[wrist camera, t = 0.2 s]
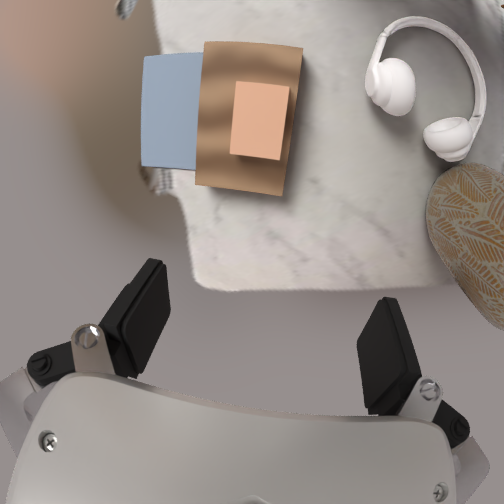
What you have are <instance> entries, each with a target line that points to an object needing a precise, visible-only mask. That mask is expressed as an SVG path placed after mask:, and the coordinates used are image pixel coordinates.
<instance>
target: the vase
mask: <svg viewBox="0 0 504 504" xmlns="http://www.w3.org/2000/svg"><path fill="white" fill-rule="evenodd" d="M426 224H427V230H428V234H429V237H430V240H431V242H432V245H433V247H434V248H435V250H436V252H437V253H438V255H439V256H440V258H441V260H442V261H443V263H444V264H445V266H446V267H447V269H448V270H449V272H450V273H451V275H452V276H453V278H454V279H455V281H456V282H457V283H458V285H459V286H460V287H461V289H462V290H463V292H464V293H465V294H466V296H467V297H468V298H469V300H470V301H471V302H472V303H473V305H474V306H475V307H476V308H477V309H478V310H479V312H480V313H481V314H482V315H483V316H484V317H485V319H486V320H488V322H490V323H491V324H492V325H493V326H495V327H497V328H498V329H500V330H503V331H504V175H503V174H501V173H499V172H497V171H495V170H494V169H492V168H489V167H487V166H485V165H482V164H478V163H463V164H459V165H456V166H453V167H451V168H449V169H447V170H446V171H444V172H443V173H442V174H441V175H440V176H439V177H438V178H437V179H436V181H435V182H434V184H433V185H432V187H431V190H430V192H429V195H428V198H427V204H426Z"/></svg>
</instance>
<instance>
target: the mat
mask: <svg viewBox="0 0 504 504" xmlns="http://www.w3.org/2000/svg"><path fill="white" fill-rule="evenodd" d="M202 62H203V53H178V54H165V55H156V56H146V57H144V68H143V82H142V104H141V154H142V155H141V158H142V166H150V167H166V168H180V169H191V170H196V145H197V125H198V109H199V95H200V83H201V72H202Z"/></svg>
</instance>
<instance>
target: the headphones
mask: <svg viewBox="0 0 504 504" xmlns="http://www.w3.org/2000/svg"><path fill="white" fill-rule="evenodd" d="M410 26H419V27H425V28H429V29H432V30H435V31H437V32H439V33H441V34H443V35H444V36H446V37H447V38H448V39H450V40H451V41H452V42H453V43H454V44H455V45H456V46H457V48H458V49H459V50H460V51H461V53H462V55H463V56H464V58H465V60H466V62H467V64H468V66H469V68H470V71H471V74H472V77H473V81H474V86H475V106H474V111H473V114H472V116H471V118H470V120H469V122H468V121H467V120H466V119H465V118H461V117H451V118H445V119H442V120H439V121H436V122H434V123H432V124H430V125H429V126H427V127H426V128H425V129H424V132H423V137H424V141H425V143H426V145H427V146H428V147H429V148H430V149H431V150H433V151H435V152H436V154H437V156H438V157H440V158H443V159H445V160H446V161H448V162H455V161H459V160H462V159H464V158H465V157H466V156H467V153H468V152H469V151H470V149H471V145H472V143H473V141H474V138H475V136H476V134H477V132H478V130H479V128H480V126H481V124H482V120H483V118H484V115H485V110H486V101H487V95H486V86H485V81H484V77H483V73H482V70H481V68H480V65H479V63H478V61H477V59H476V57H475V55H474V53H473V52H472V50H471V49H470V47H469V46H468V45H467V43H466V42H465V41H464V40H463V39H462V38H461V37H460V36H459V35H458V34H457V33H456V32H455V31H453V30H452V29H451V28H449V27H448V26H447V25H445V24H443V23H441V22H439V21H436V20H434V19H431V18H427V17H421V16H410V17H404V18H401V19H398V20H396V21H394V22H393V23H391V24H390V25H388V26H387V27H386V28H385V29H384V30H383V31H382V33H381V34H380V35H379V37H378V39H377V41H376V42H377V44H376V46H375V49H374V52H373V55H372V57H371V60H370V63H369V66H368V69H367V72H366V76H365V88H366V92H367V95H368V96H369V97H371V99H372V101H373V102H374V103H375V104H376V105H378V106H381V108H382V109H383V110H384V111H385V112H387V113H389V114H391V115H394V116H403V115H405V114H407V113H408V112H409V111H410V110H411V109H412V107H413V104H414V101H415V96H416V81H415V77H414V73H413V71H412V69H411V67H410V66H409V65H408V64H407V63H406V62H405V61H403V60H400V59H398V58H388V59H385V60H383V61H382V62H379V60H380V57H381V54H382V51H383V48H384V45H385V42H386V40H387V37H388V36H390V35H392V34H393V33H394V32H396V31H397V30H399V29H401V28H405V27H410Z"/></svg>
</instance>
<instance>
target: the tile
mask: <svg viewBox="0 0 504 504" xmlns="http://www.w3.org/2000/svg"><path fill="white" fill-rule="evenodd" d="M289 89H290V87H288V86H281V85H273V84H264V83H254V82H241V81H236V88H235V98H234V109H233V119H232V130H231V142H230V154H236V155H244V156H253V157H260V158H268V159H274V160H280V155H281V148H282V140H283V133H284V126H285V119H286V111H287V104H288V96H289Z"/></svg>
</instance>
